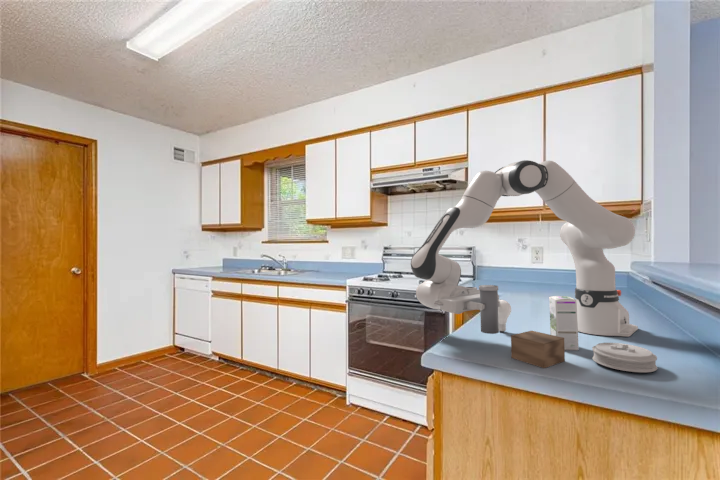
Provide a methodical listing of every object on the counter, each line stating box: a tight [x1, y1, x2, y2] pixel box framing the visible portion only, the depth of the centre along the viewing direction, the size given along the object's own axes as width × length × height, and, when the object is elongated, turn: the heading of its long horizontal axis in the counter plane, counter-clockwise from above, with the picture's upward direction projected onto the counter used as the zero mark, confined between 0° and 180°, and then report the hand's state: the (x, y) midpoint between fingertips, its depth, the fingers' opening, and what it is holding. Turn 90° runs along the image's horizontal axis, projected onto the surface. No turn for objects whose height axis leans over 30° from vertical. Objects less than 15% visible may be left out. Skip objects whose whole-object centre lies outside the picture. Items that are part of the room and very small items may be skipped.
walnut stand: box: [510, 330, 566, 369], centre depth 90 cm, size 9×9×6 cm
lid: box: [591, 342, 658, 373], centre depth 85 cm, size 13×13×5 cm
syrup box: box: [548, 295, 579, 351], centre depth 100 cm, size 6×6×14 cm
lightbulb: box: [498, 299, 512, 333], centre depth 118 cm, size 6×6×11 cm
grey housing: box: [478, 284, 500, 335], centre depth 98 cm, size 5×5×13 cm
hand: (491, 305), depth 98 cm, fingers closed on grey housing, 5 cm apart
